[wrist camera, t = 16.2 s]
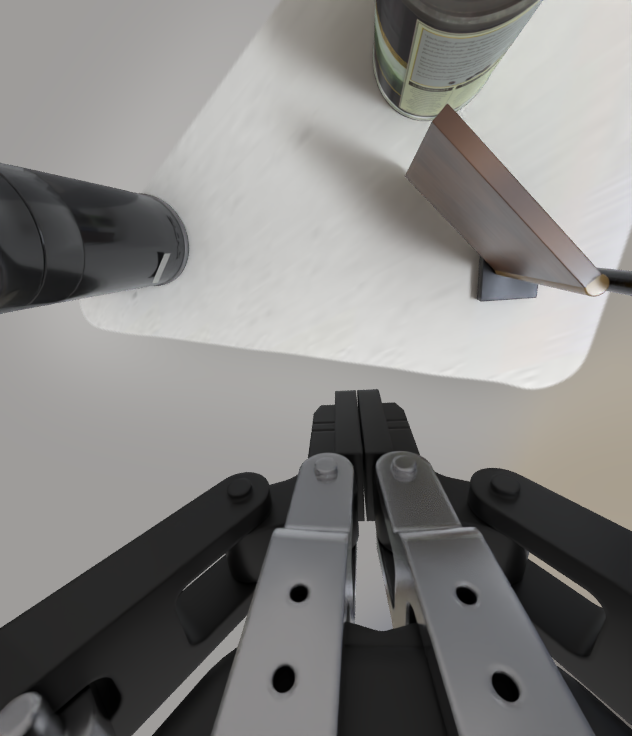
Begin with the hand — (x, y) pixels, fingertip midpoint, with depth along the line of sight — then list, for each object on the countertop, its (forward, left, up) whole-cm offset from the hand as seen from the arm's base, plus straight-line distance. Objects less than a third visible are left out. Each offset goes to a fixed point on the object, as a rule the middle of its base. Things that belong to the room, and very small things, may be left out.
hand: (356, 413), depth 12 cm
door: (+9, +7, -24) cm, 26 cm away
